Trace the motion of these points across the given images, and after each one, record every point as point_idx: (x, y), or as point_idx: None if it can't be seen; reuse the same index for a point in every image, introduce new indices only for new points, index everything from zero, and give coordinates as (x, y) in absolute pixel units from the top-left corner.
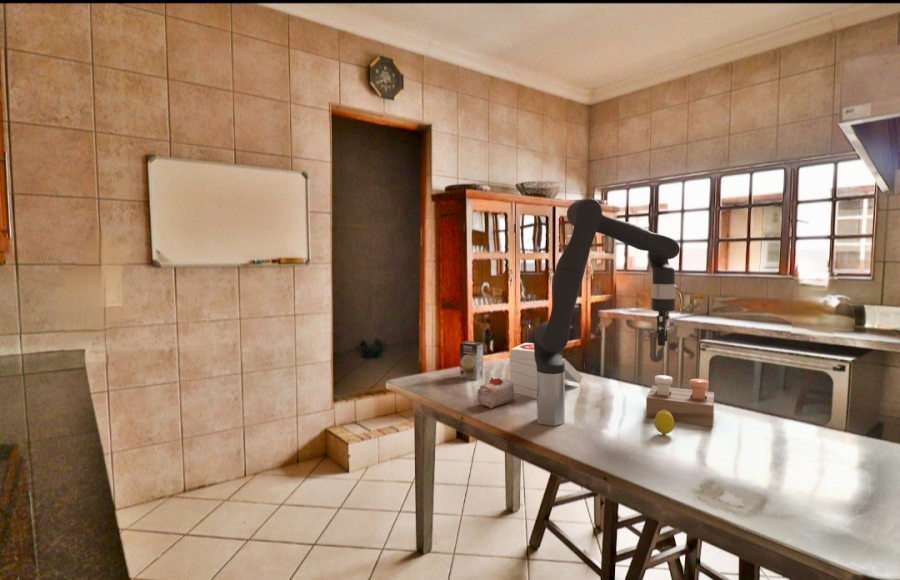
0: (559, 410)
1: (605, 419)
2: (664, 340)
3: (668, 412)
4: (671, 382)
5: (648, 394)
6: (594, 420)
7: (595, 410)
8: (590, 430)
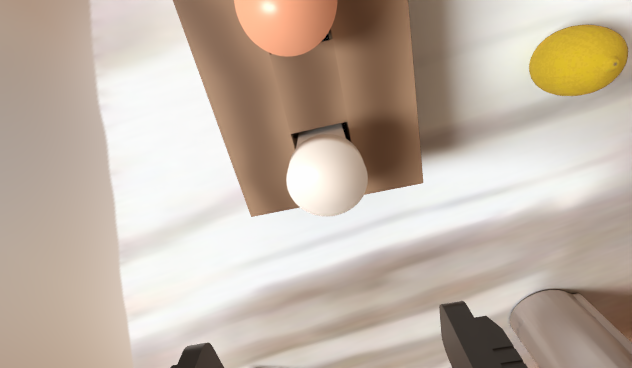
0: (595, 320)
1: (474, 232)
2: (491, 351)
3: (612, 47)
4: (333, 137)
5: (379, 190)
6: (494, 248)
7: (413, 274)
8: (576, 228)
